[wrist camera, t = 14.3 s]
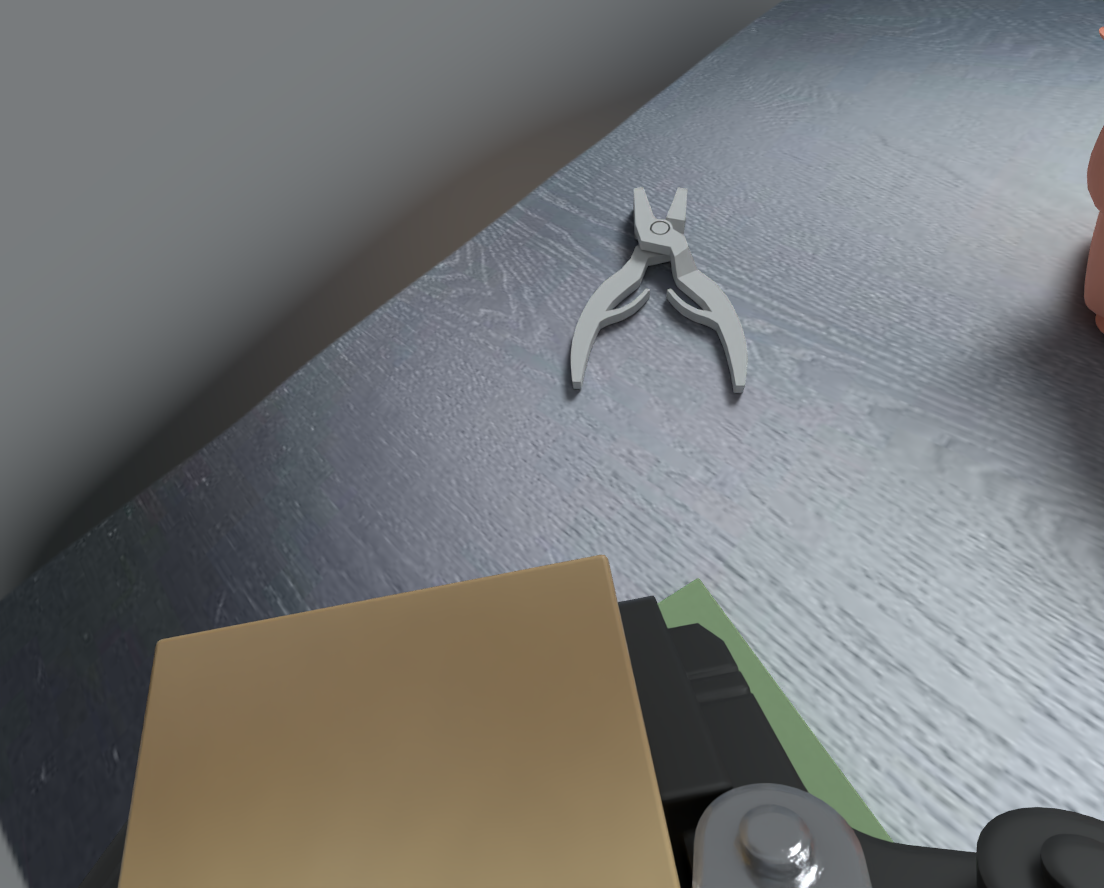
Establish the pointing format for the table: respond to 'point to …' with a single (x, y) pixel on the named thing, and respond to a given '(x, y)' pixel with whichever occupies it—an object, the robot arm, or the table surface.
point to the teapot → (1096, 232)
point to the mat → (775, 709)
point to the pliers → (657, 247)
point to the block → (404, 746)
